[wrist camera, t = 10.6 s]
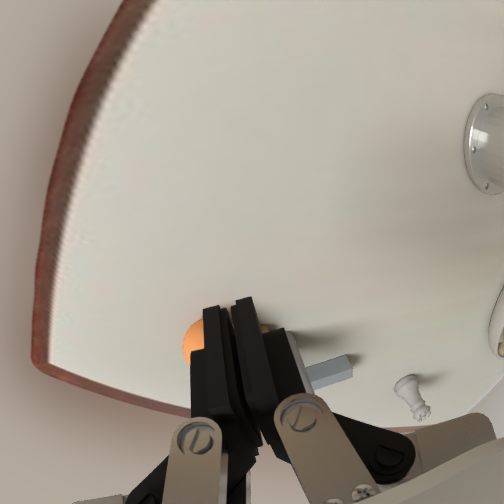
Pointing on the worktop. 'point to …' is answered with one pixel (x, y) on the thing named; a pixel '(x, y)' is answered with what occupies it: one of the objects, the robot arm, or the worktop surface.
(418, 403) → the rook chess piece
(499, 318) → the bowl
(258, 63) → the worktop surface
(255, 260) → the worktop surface
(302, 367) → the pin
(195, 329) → the ball
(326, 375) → the grey rectangular bar
